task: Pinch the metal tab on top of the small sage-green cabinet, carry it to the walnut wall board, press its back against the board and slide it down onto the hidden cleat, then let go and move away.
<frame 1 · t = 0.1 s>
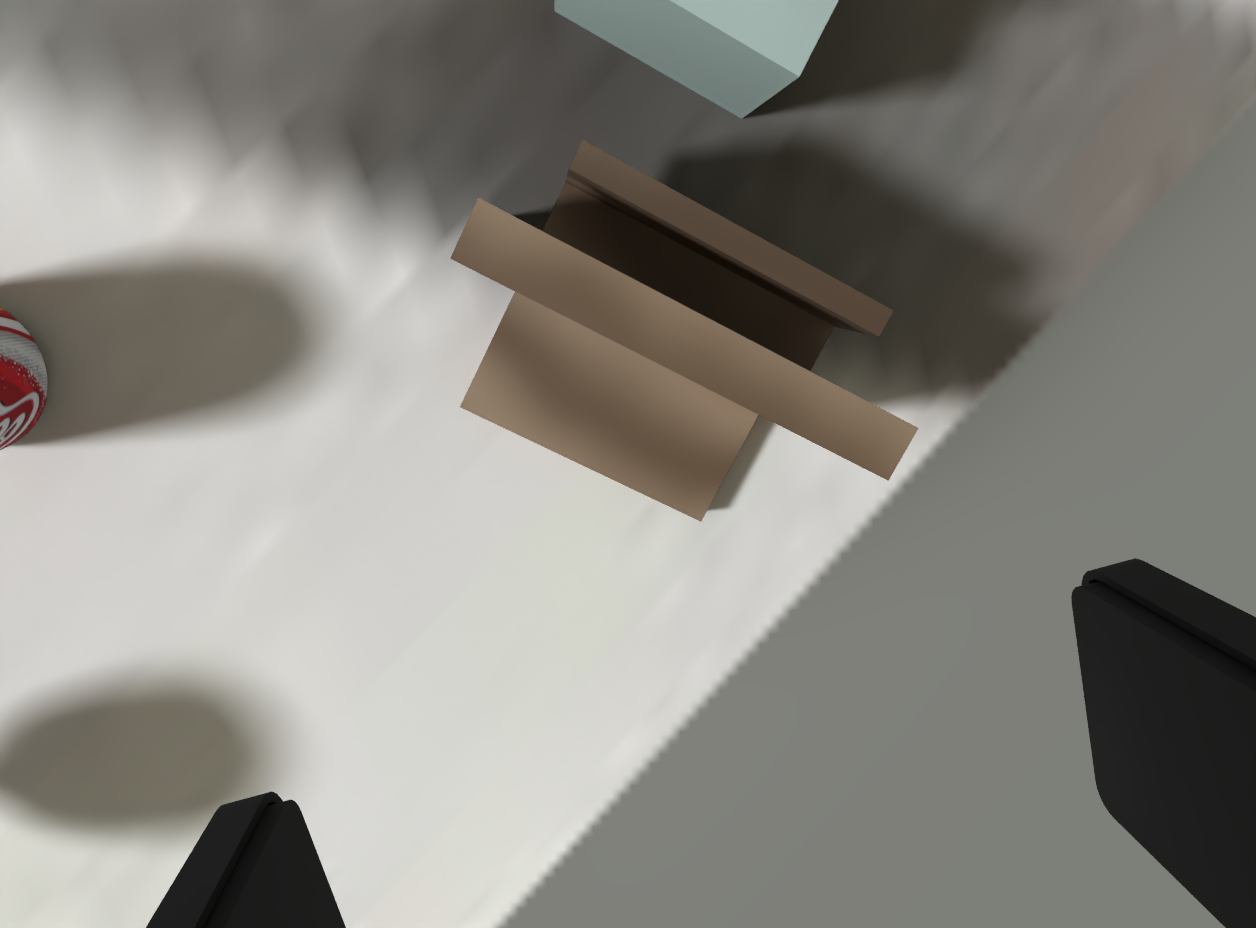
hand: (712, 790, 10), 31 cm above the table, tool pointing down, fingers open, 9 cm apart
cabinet: (677, 9, 37), on the table
wall board: (651, 322, 40), on the table
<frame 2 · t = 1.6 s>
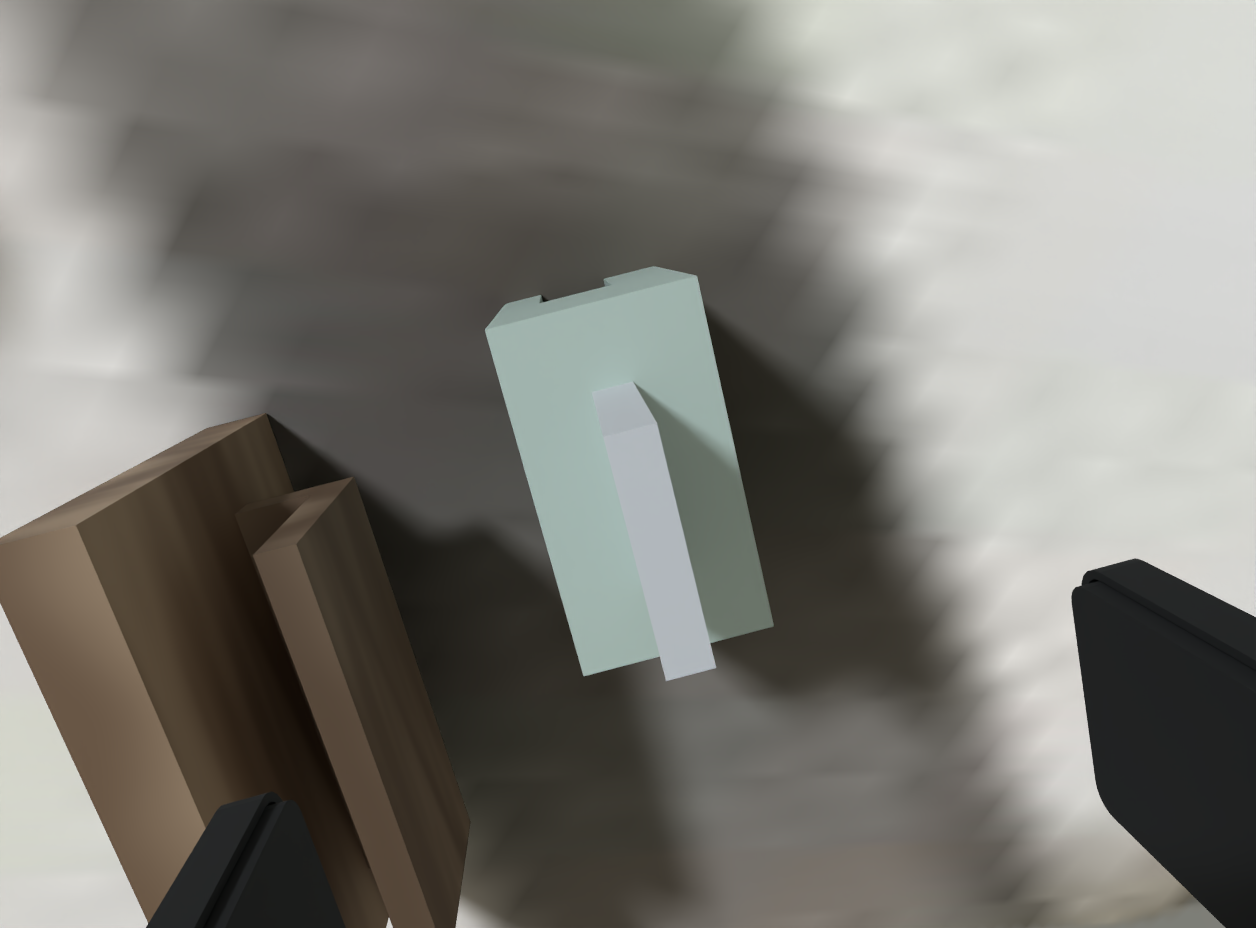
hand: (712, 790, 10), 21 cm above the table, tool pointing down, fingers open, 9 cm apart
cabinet: (613, 416, 30), on the table
wall board: (315, 637, 31), on the table
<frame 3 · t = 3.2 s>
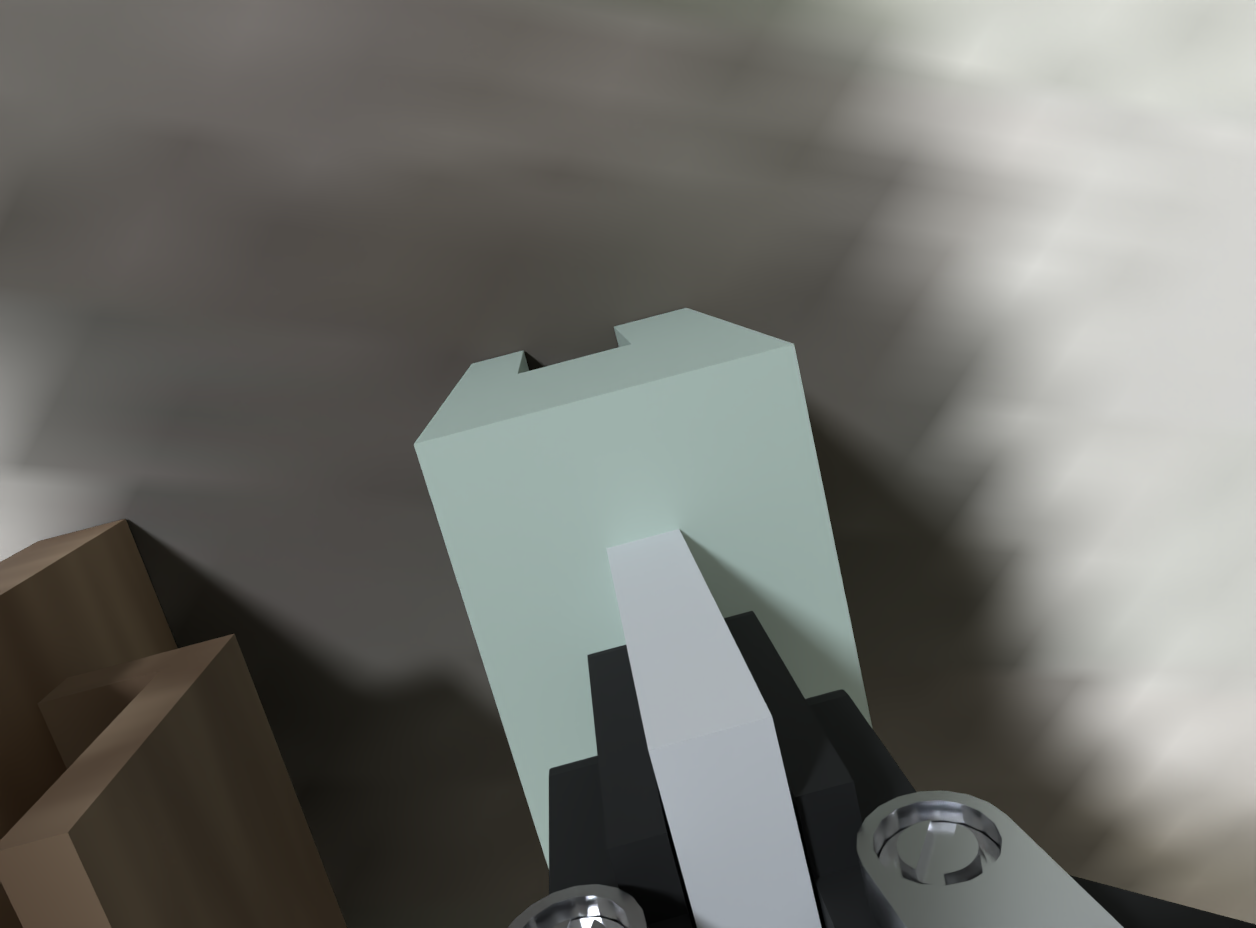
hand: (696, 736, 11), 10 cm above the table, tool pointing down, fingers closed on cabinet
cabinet: (627, 520, 21), on the table, touching gripper
wall board: (206, 829, 22), on the table
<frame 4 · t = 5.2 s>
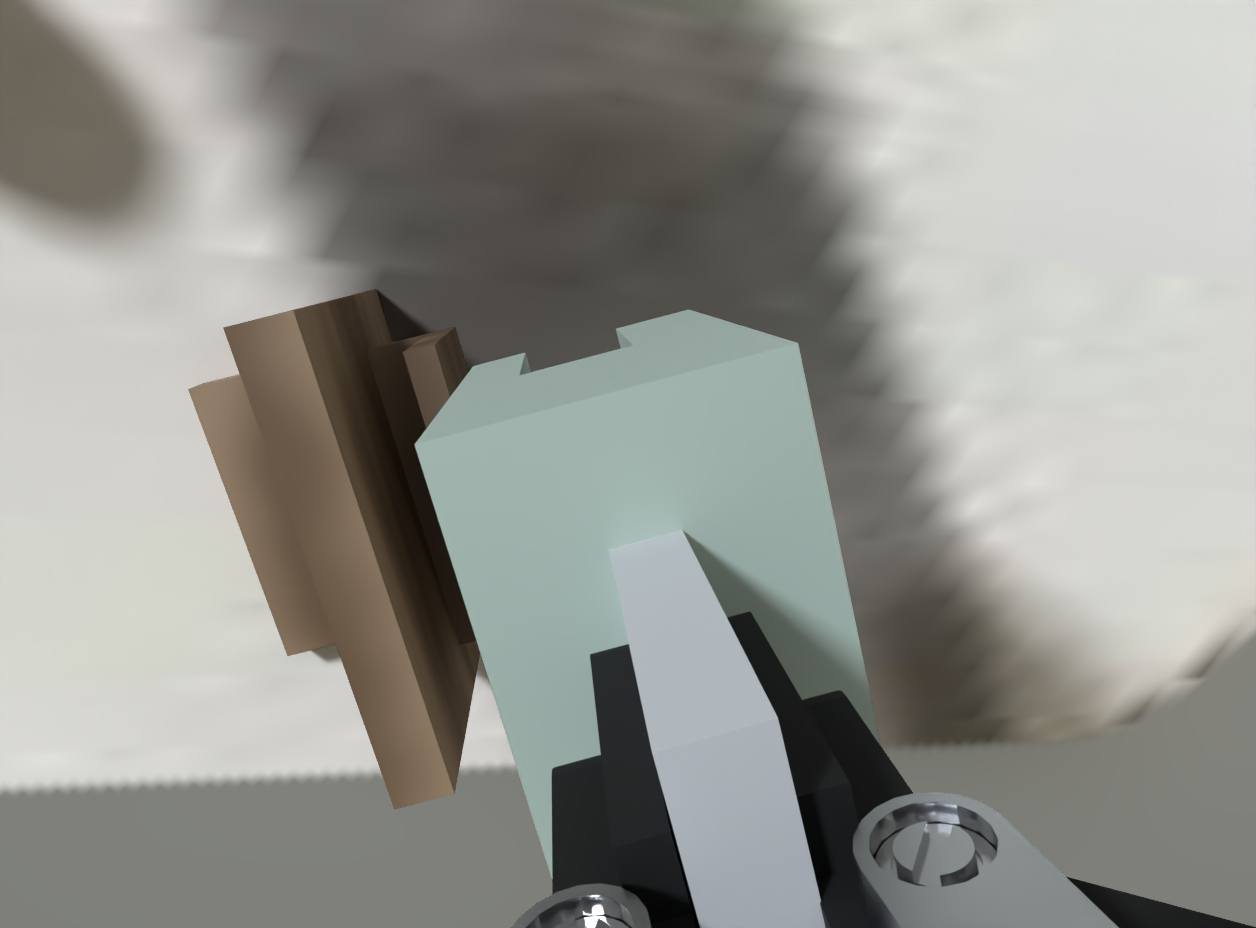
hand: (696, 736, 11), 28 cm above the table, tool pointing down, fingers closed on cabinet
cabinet: (630, 523, 21), point 18 cm above the table, touching gripper
wall board: (409, 477, 38), on the table
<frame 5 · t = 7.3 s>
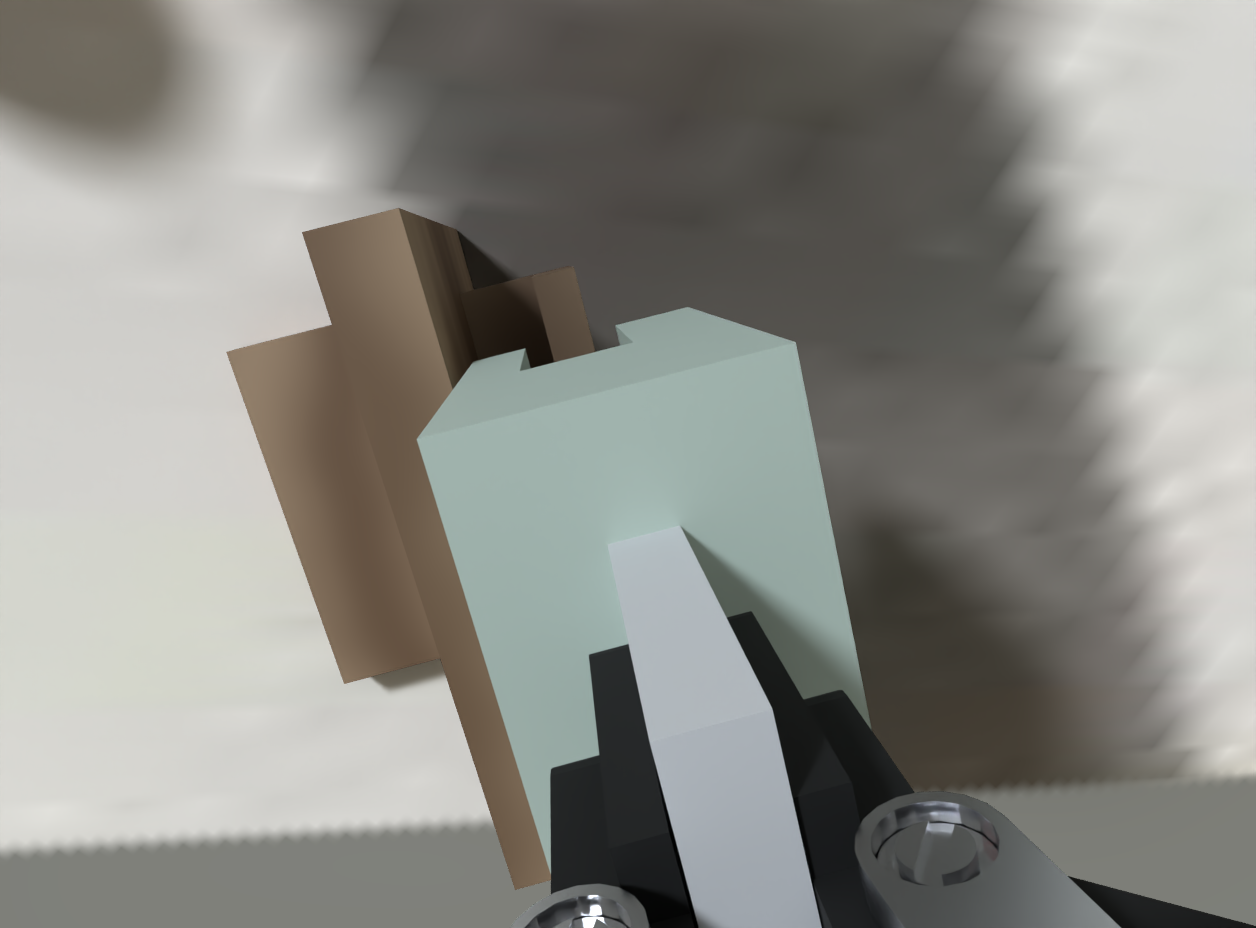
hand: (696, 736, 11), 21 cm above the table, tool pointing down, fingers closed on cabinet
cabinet: (628, 518, 21), point 11 cm above the table, touching gripper
wall board: (493, 463, 32), on the table
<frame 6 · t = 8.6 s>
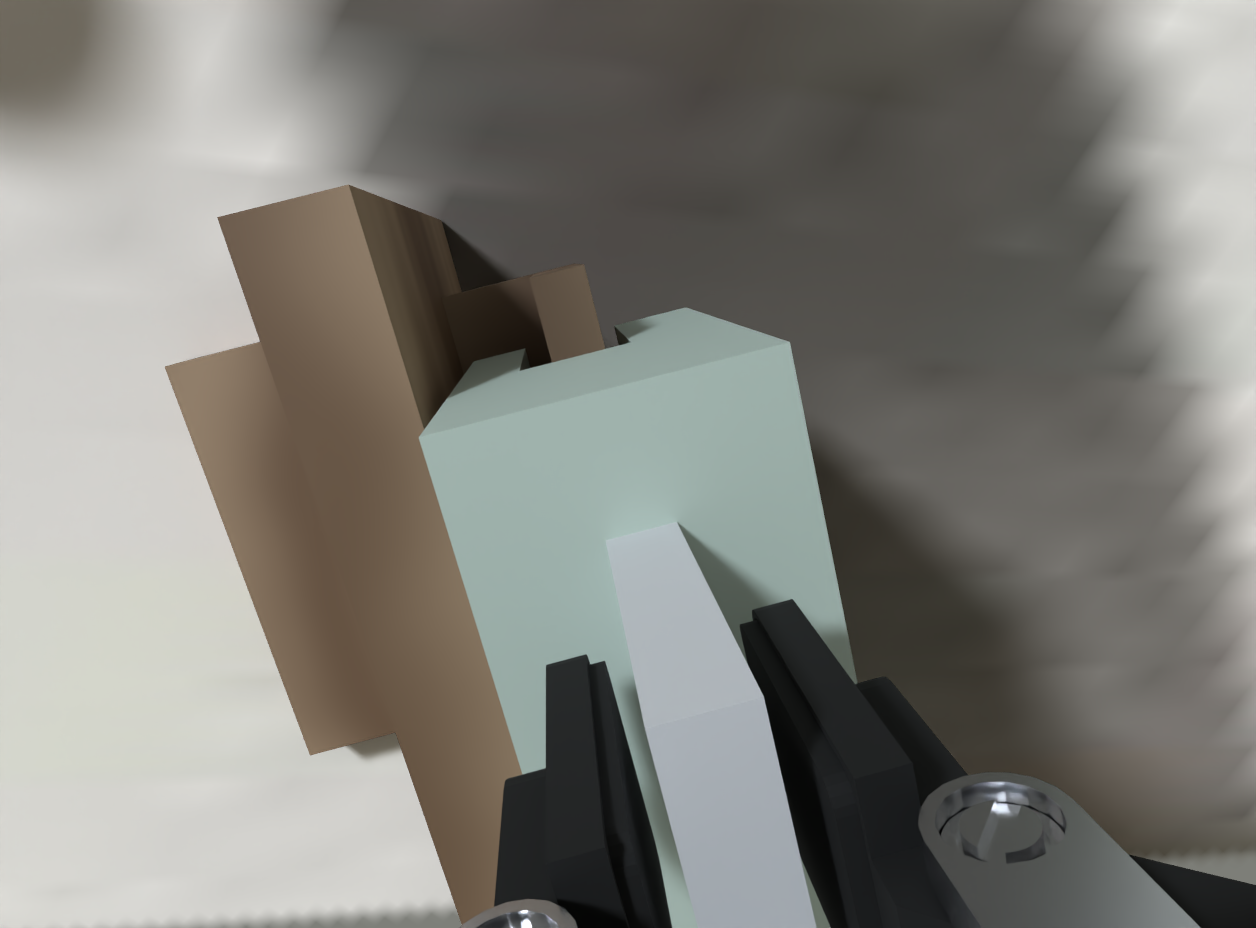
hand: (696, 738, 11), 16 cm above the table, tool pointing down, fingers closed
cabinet: (626, 516, 21), point 6 cm above the table, touching wall board
wall board: (485, 495, 27), on the table
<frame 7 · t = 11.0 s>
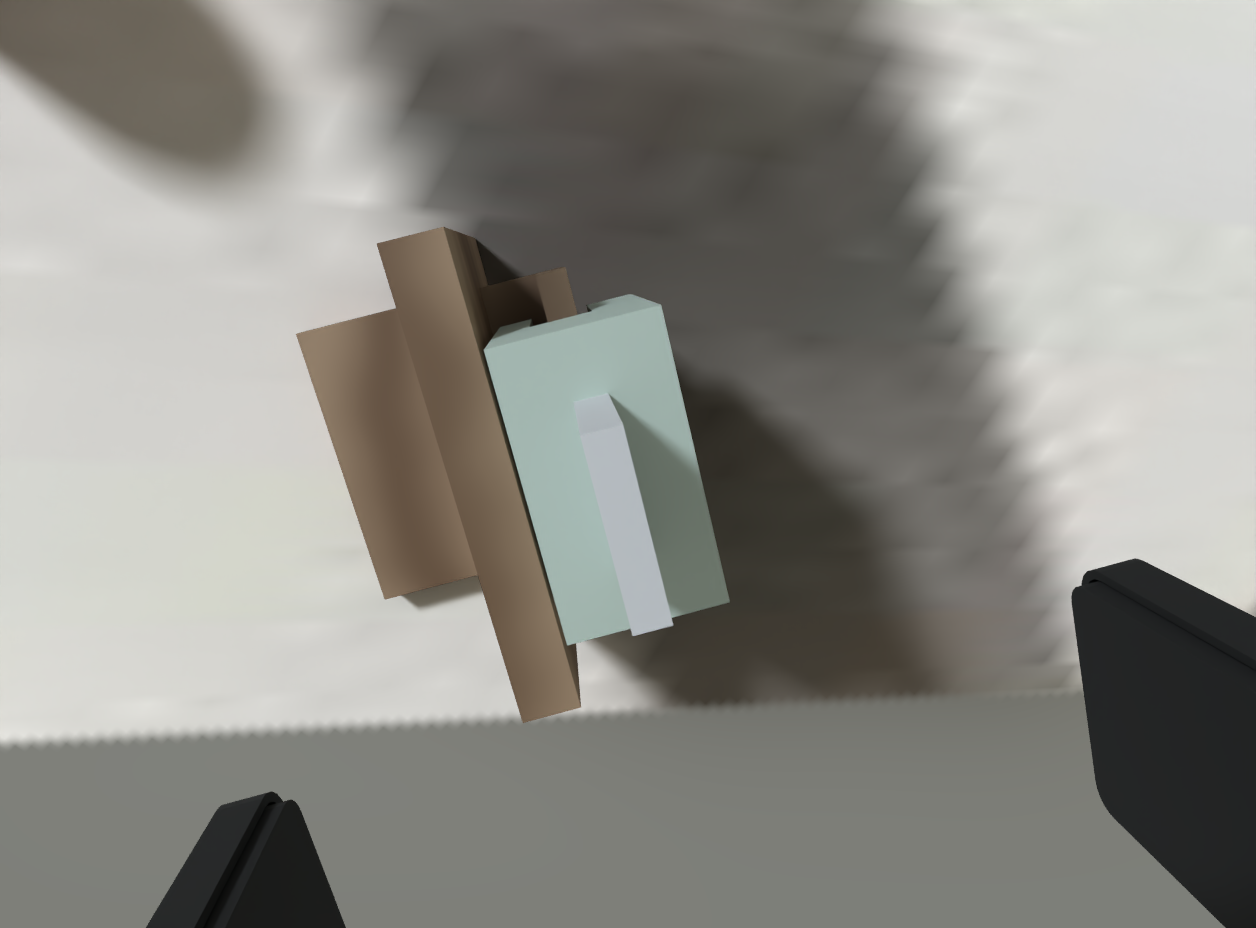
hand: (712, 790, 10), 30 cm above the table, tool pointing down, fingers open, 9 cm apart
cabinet: (595, 425, 34), point 6 cm above the table, touching wall board
wall board: (503, 424, 40), on the table
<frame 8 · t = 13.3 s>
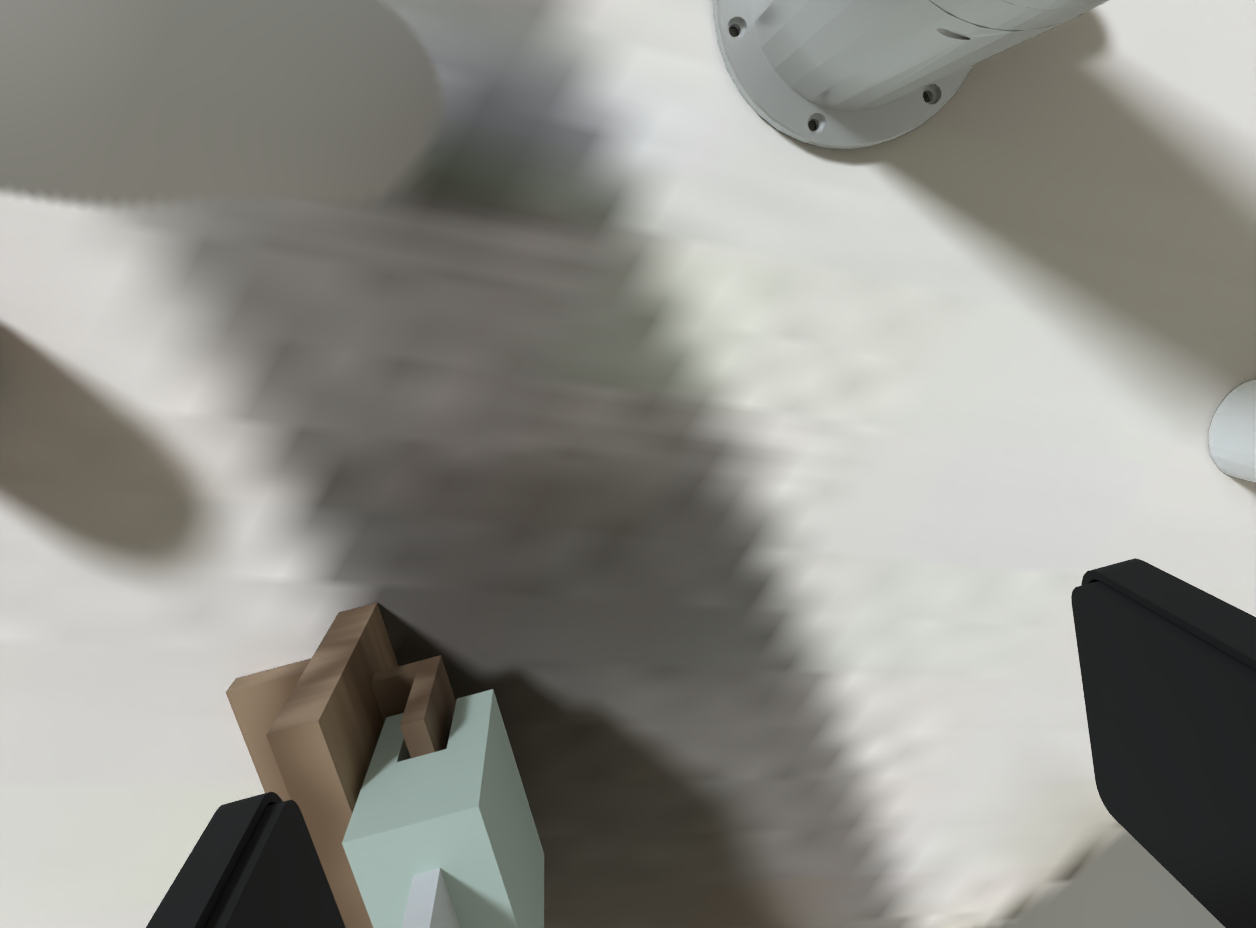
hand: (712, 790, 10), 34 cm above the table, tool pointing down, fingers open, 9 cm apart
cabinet: (467, 787, 42), point 6 cm above the table, touching wall board
wall board: (405, 744, 47), on the table
white pointed crystal: (1254, 424, 47), on the table
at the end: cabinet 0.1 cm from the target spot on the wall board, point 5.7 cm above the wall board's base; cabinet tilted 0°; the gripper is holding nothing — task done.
